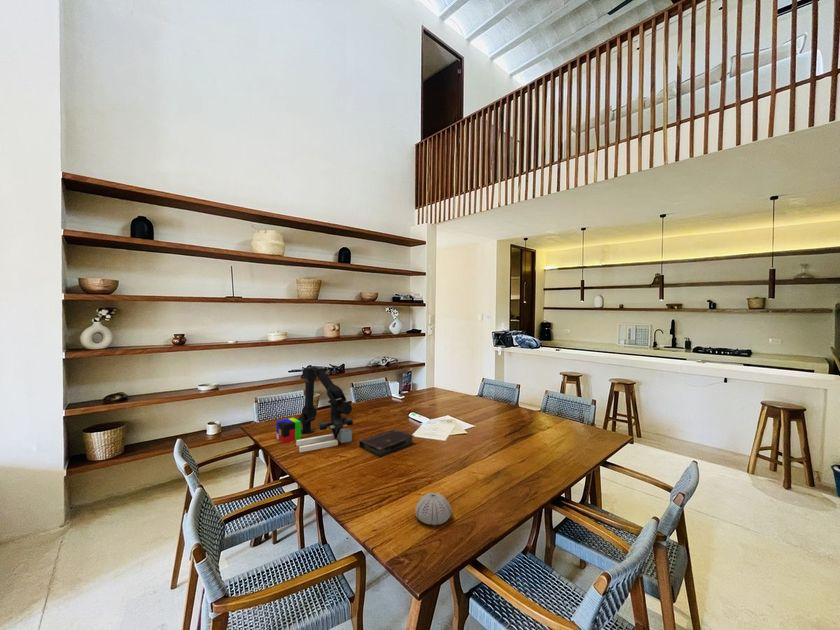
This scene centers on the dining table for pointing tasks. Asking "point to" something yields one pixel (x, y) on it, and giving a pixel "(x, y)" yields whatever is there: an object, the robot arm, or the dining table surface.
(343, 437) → the block
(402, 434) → the diary
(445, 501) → the sea urchin shell
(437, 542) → the dining table surface
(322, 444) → the chute
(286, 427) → the puzzle toy
